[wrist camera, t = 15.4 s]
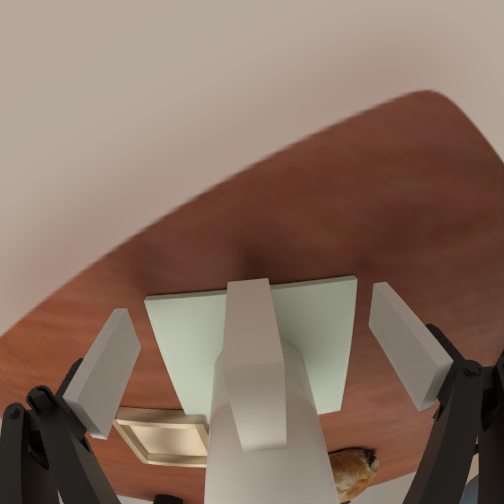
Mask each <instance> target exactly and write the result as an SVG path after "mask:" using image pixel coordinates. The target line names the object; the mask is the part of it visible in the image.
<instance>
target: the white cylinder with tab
mask: <svg viewBox="0 0 504 504" xmlns="http://www.w3.org/2000/svg"><path fill="white" fill-rule="evenodd" d="M204 504H340V503H339V498H338V494H337V490H336V485H335V481H334V477H333V473H332V469H331V464H330V460H329V456H328V452H327V448H326V444H325V440H324V436H323V432H322V428H321V424H320V420H319V416H318V412H317V408H316V404H315V401H314V397H313V393H312V389H311V385H310V381H309V378H308V374H307V370H306V366H305V363H304V359H303V356H302V354H301V353H300V351H299V350H298V349H297V348H296V347H295V346H294V345H292V344H291V343H289V342H287V341H285V340H282V339H280V337H279V332H278V327H277V322H276V316H275V311H274V306H273V301H272V296H271V290H270V285H269V280H268V278H264V279H254V280H244V281H234V282H228V285H227V297H226V310H225V324H224V338H223V351H222V352H221V353H220V354H219V356H218V357H217V359H216V362H215V366H214V376H213V387H212V399H211V411H210V423H209V437H208V451H207V465H206V481H205V499H204Z"/></svg>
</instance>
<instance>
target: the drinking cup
mask: <svg viewBox="0 0 504 504" xmlns="http://www.w3.org/2000/svg"><path fill="white" fill-rule="evenodd" d="M153 504H183V501H182V500H181V499H179V498H176V497H173V496H169V495H156V496H155V499H154V503H153Z"/></svg>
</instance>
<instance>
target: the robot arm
mask: <svg viewBox="0 0 504 504" xmlns="http://www.w3.org/2000/svg"><path fill="white" fill-rule="evenodd" d="M368 326H369V328H370V329H371V331H372V332H373V334H374V336H375V337H376V339H377V341H378V342H379V344H380V346H381V347H382V349H383V351H384V352H385V354H386V356H387V357H388V359H389V361H390V362H391V364H392V366H393V368H394V369H395V371H396V373H397V375H398V376H399V378H400V380H401V382H402V383H403V385H404V387H405V389H406V390H407V392H408V394H409V396H410V398H411V399H412V401H413V403H414V405H415V407H416V409H417V410H418V411H421V410H424V409H427V408H429V407H432V406H433V404H434V402H435V400H436V398H438V400H439V402H440V405H439V407H438V409H437V411H436V413H435V414H434V416H433V418H434V419H435V421H434V424H433V427H432V431H431V434H430V437H429V440H428V443H427V446H426V449H425V452H424V454H423V457H422V460H421V462H420V465H419V467H418V470H417V473H416V475H415V477H414V480H413V482H412V484H411V487H410V489H409V491H408V493H407V495H406V497H405V499H404V501H403V503H402V504H459V503H460V504H504V353H503V355H502V357H500V358H499V359H498V361H497V363H496V365H495V366H490V367H482V366H481V365H480V364H479V363H478V362H476V361H473V360H465V359H464V358H463V356H462V355H461V354H460V353H459V352H458V350H457V349H456V348H455V347H454V346H453V344H452V343H451V342H449V340H448V338H447V337H445V335H444V334H443V333H442V332H441V330H440V329H439V328H437V327H435V326H434V325H432V324H427V325H424V324H423V323H422V322H421V321H420V319H419V318H418V317H417V316H416V315H415V314H414V312H413V311H412V310H411V309H410V308H409V307H408V306H407V304H406V303H405V302H404V301H403V300H402V299H401V298H400V296H399V295H398V294H397V293H396V292H395V291H394V290H393V289H392V288H391V287H390V285H389V284H388V283H387V282H381V283H374V285H373V294H372V302H371V310H370V318H369V325H368ZM140 350H141V346H140V343H139V341H138V338H137V335H136V333H135V330H134V327H133V324H132V322H131V319H130V316H129V313H128V310H127V308H121V309H114V311H113V312H112V314H111V316H110V317H109V319H108V320H107V322H106V323H105V325H104V327H103V328H102V330H101V331H100V333H99V335H98V336H97V338H96V339H95V341H94V343H93V344H92V346H91V348H90V349H89V351H88V353H87V354H86V356H85V358H80V359H78V360H77V361H76V362H75V363H74V364H73V365H72V367H71V368H70V370H69V373H67V375H66V377H65V379H64V380H63V382H62V384H61V386H60V387H59V389H58V391H57V393H56V394H55V396H54V395H53V393H52V392H51V390H50V389H49V387H47V386H43V385H40V386H37V387H35V388H33V389H32V390H31V391H30V392H29V393H28V395H27V397H26V402H27V403H28V404H29V406H30V407H31V408H32V410H26V409H25V408H24V407H23V405H22V404H20V403H13V404H10V405H9V406H8V407H7V408H6V409H5V411H4V414H3V421H2V428H1V436H0V504H60V503H59V497H58V491H59V493H60V496H61V498H62V501H63V503H64V504H121V503H120V501H119V499H118V498H117V496H116V494H115V493H114V491H113V489H112V487H111V486H110V484H109V482H108V480H107V478H106V477H105V475H104V473H103V471H102V469H101V467H100V465H99V463H98V461H97V459H96V457H95V455H94V453H93V451H92V448H91V446H90V444H89V442H88V440H87V438H86V437H85V436H84V435H85V433H86V430H87V431H88V432H89V433H90V434H91V436H92V437H95V438H100V439H106V440H107V438H108V435H109V432H110V429H111V426H112V423H113V421H114V418H115V415H116V412H117V409H118V407H119V404H120V401H121V398H122V396H123V393H124V390H125V388H126V385H127V383H128V380H129V377H130V375H131V372H132V370H133V367H134V365H135V362H136V360H137V357H138V355H139V352H140ZM477 434H478V453H479V474H478V475H477V476H475V477H474V478H473V479H472V480H470V481H469V482H468V484H467V485H466V481H467V478H468V474H469V470H470V466H471V463H472V458H473V454H474V449H475V445H476V439H477ZM465 485H466V486H465ZM57 488H58V490H57ZM460 500H461V501H460Z"/></svg>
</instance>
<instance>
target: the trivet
mask: <svg viewBox="0 0 504 504" xmlns="http://www.w3.org/2000/svg"><path fill="white" fill-rule="evenodd" d="M270 290H271V296H272V301H273V306H274V311H275V316H276V322H277V327H278V332H279V337H280V339H282V340H285V341H287V342H289V343H291V344H292V345H294V346H295V347H296V348H297V349H298V350H299V351H300V353H301V354H302V356H303V359H304V363H305V366H306V370H307V374H308V378H309V381H310V385H311V389H312V393H313V397H314V401H315V404H316V408H317V412H318V414H324V413H329V412H335V411H340V408H341V403H342V397H343V392H344V386H345V380H346V374H347V368H348V361H349V355H350V347H351V340H352V332H353V323H354V313H355V303H356V292H357V278H356V277H355V275H352V276H344V277H337V278H329V279H321V280H313V281H304V282H296V283H287V284H278V285H270ZM226 297H227V290H218V291H207V292H195V293H183V294H170V295H156V296H146V298H145V300H144V302H145V305H146V309H147V312H148V315H149V318H150V322H151V325H152V328H153V331H154V334H155V337H156V340H157V342H158V345H159V348H160V351H161V354H162V357H163V359H164V362H165V365H166V367H167V370H168V373H169V375H170V378H171V380H172V383H173V385H174V388H175V390H176V393H177V395H178V398H179V400H180V402H181V405H182V407H183V409H184V412H185V414H186V415H205V418H206V421H207V423H208V425H209V423H210V411H211V399H212V387H213V376H214V366H215V362H216V359H217V357H218V356H219V354H220V353H221V352H222V351H223V338H224V324H225V310H226Z"/></svg>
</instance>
